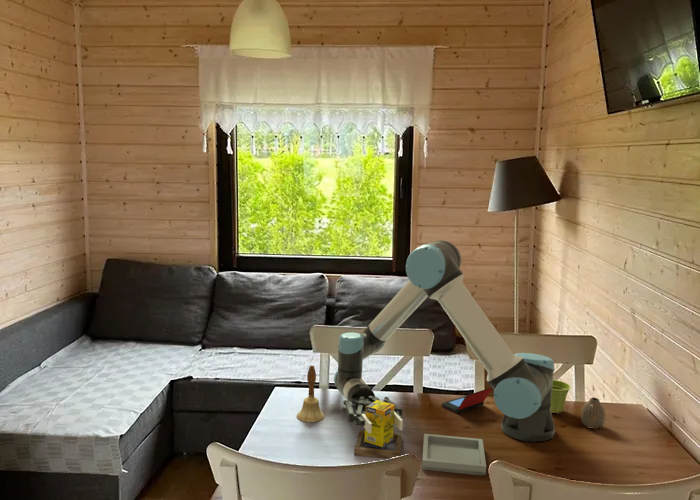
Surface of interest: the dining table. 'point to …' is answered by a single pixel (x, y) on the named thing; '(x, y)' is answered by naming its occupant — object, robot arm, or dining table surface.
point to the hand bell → (311, 402)
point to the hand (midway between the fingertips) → (385, 426)
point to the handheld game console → (467, 401)
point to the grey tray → (453, 454)
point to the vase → (593, 413)
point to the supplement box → (380, 424)
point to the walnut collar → (377, 452)
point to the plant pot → (558, 395)
